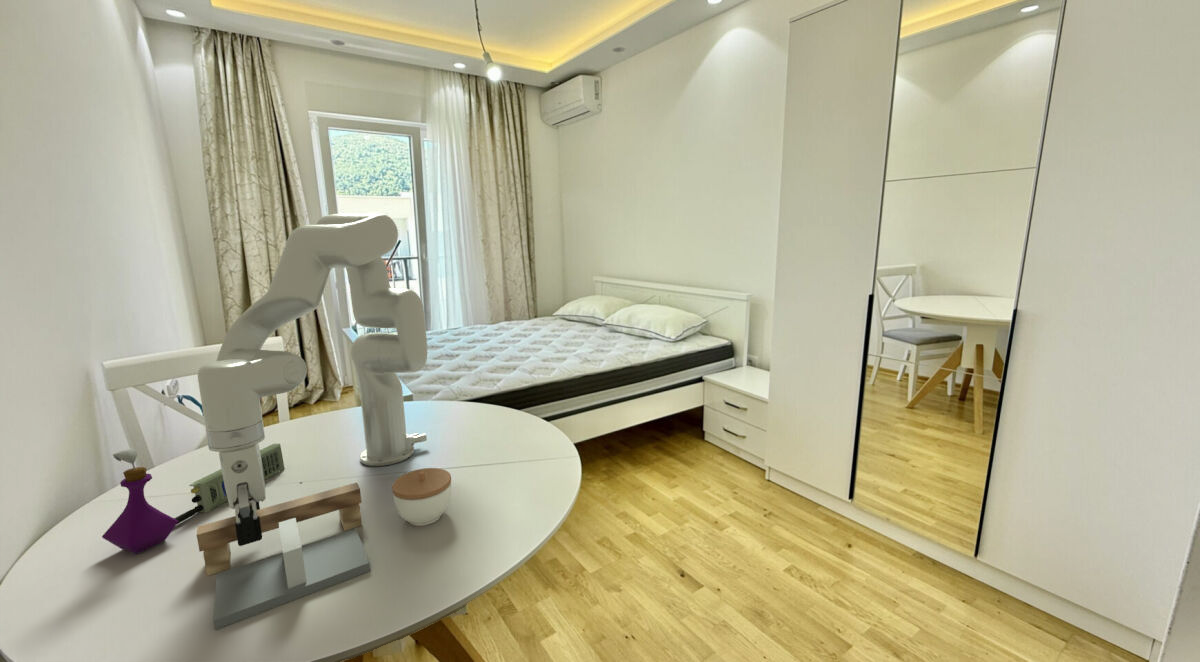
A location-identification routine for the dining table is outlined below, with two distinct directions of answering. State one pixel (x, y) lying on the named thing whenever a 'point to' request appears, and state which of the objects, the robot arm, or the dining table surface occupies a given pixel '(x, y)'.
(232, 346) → the robot arm
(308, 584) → the stand
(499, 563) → the dining table surface
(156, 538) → the purple potion bottle
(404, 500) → the lidded jar
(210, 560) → the bar rest
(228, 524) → the walnut bar
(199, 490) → the handheld radio
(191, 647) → the dining table surface
